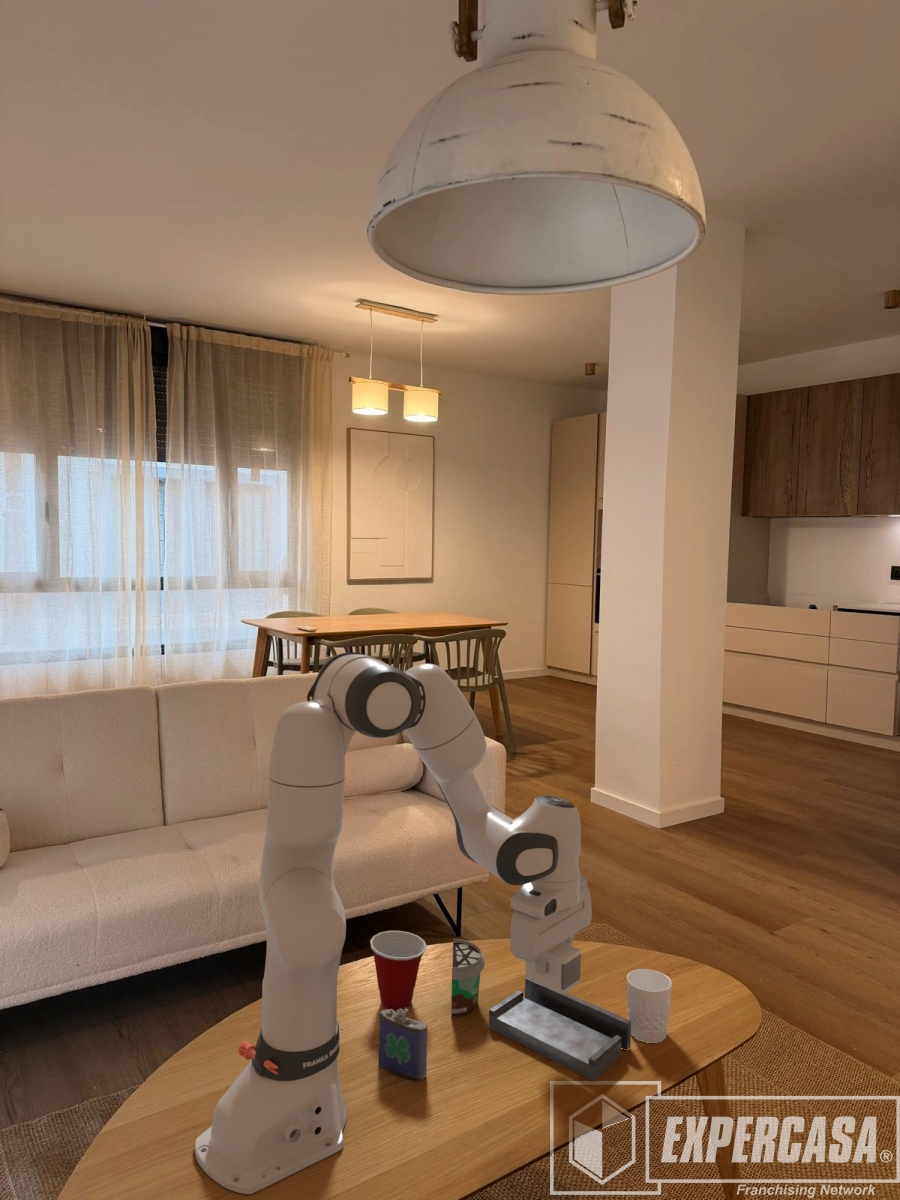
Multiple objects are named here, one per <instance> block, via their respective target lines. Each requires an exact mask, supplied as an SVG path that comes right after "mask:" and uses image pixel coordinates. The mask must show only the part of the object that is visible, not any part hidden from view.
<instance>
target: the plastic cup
mask: <svg viewBox="0 0 900 1200" xmlns="http://www.w3.org/2000/svg"><path fill="white" fill-rule="evenodd" d="M369 942H370V944H369V945H370V948H371V950H372V954H373V960H374V964H375V965H374V966H375V973H376V979H377V986H378V990H379V998H380V1002H381V1007H383V1008H384V1009H393V1010H394V1011H395V1012H397V1010H399V1009H403V1010H406V1009H405V1008H407V1009H408V1008H409V1007H410V1006H411V1003H412V1001H413V997H414V992H415V987H416V983H417V977H418V974H419V968H420V963H421V962H422V961H421V960H422V957H423V955H425V952H426V950H427V948H428V947H427V943H426V941H425V940H424V939H423V938H422V937H420V936H419V935H417V934H414V933H413V932H412V933H411V932H409V931H403V930H402V931H401V930H387V931H386V930H385V931H382V932H378V933H377V934H375V935H373V936H372V938H371V939H370V940H369Z"/></svg>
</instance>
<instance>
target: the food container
mask: <svg viewBox="0 0 900 1200" xmlns="http://www.w3.org/2000/svg"><path fill="white" fill-rule="evenodd" d="M484 959H485V958H484V955H483V952H482V949H481V948H480V947H479V946H478V945H476V944H475V943H474V942H471V941H468V940H467V939H466V940H465V939H460V938H452V967H451V1001H450V1002H451V1004H450V1005H451V1008H450V1009H451V1010H450V1011H451V1012H450V1015H451V1018H459V1017H465V1016H468V1015H470V1014H472V1013H473V1012H474V1011H476V1009H477V1007H478V1004H479V995H480V994H479V992H480V991H479V990H480V983H481V982H480V980H481V972H482V971H483V970H484V968H485V960H484Z"/></svg>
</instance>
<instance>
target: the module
mask: <svg viewBox="0 0 900 1200" xmlns="http://www.w3.org/2000/svg"><path fill="white" fill-rule="evenodd" d="M581 957H582V955H581V949H579V948H577V947H576V946H572V945H571V946H570V945H567V944H565V943H562V942H561V943H560V944H558V945H556V946H555V947H553V948H552V949H550V950H548V951H547V952H546V956H545V957H544V959H545V962H547V963H549V968H548V969H549V971H548V972H547V973H546V974H544V975H540V974H538V973H536V963H535V961H534V960H533V961H531V962H526V961H525V978H527V979H530V980H532V981H534V982H537V983H539V984H541V985H543V986H546V987H548V988H550V989H553V990H555V991H557V992H559V993H562V994H565V993H569V991H570V990H572V989H574V988H575V987H576V986H578V985H579V984H580V982H581V965H582V964H581V962H582V961H581Z"/></svg>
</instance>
